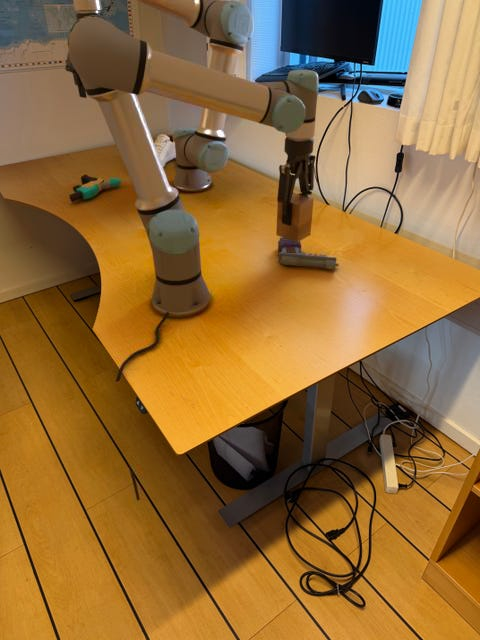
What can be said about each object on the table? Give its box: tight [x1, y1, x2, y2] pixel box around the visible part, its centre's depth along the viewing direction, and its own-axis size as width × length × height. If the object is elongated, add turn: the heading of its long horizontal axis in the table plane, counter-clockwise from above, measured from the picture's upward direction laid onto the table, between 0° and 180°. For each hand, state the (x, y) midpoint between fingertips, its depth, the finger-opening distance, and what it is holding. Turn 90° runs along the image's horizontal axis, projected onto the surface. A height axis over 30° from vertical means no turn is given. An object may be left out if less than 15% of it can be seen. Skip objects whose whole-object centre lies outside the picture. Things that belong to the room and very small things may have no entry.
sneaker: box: [153, 133, 176, 168], centre depth 214 cm, size 10×29×12 cm, turn 163°
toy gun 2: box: [277, 236, 339, 270], centre depth 142 cm, size 4×19×15 cm
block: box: [275, 192, 314, 243], centre depth 136 cm, size 8×7×11 cm
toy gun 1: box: [69, 174, 122, 203], centre depth 188 cm, size 4×26×15 cm
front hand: (294, 219), depth 137 cm, fingers closed on block, 7 cm apart
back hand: (102, 93), depth 147 cm, fingers open, 13 cm apart
